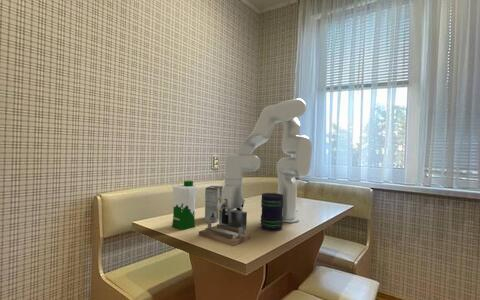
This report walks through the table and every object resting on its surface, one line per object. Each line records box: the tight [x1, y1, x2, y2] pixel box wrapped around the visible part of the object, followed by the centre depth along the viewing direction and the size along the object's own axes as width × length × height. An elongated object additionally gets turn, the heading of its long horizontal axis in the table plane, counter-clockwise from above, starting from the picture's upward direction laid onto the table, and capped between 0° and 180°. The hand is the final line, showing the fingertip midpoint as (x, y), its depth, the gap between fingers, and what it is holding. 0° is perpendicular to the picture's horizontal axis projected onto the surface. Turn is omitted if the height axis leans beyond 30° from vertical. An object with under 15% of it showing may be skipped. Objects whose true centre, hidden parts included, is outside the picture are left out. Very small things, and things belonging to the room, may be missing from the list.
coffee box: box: [204, 185, 224, 223], centre depth 130 cm, size 9×6×16 cm
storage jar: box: [260, 192, 284, 232], centre depth 118 cm, size 10×10×15 cm
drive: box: [218, 209, 248, 232], centre depth 116 cm, size 4×12×8 cm, turn 55°
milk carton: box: [172, 180, 198, 231], centre depth 116 cm, size 9×9×20 cm
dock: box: [198, 220, 251, 246], centre depth 105 cm, size 10×18×5 cm, turn 55°
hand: (231, 221), depth 116 cm, fingers open, 9 cm apart
